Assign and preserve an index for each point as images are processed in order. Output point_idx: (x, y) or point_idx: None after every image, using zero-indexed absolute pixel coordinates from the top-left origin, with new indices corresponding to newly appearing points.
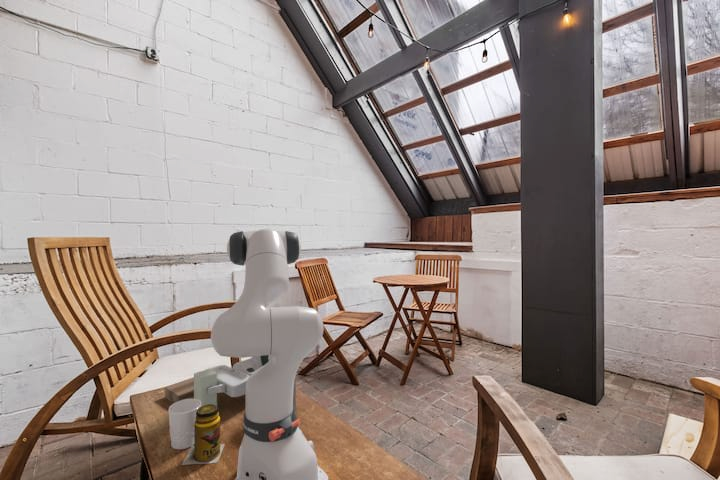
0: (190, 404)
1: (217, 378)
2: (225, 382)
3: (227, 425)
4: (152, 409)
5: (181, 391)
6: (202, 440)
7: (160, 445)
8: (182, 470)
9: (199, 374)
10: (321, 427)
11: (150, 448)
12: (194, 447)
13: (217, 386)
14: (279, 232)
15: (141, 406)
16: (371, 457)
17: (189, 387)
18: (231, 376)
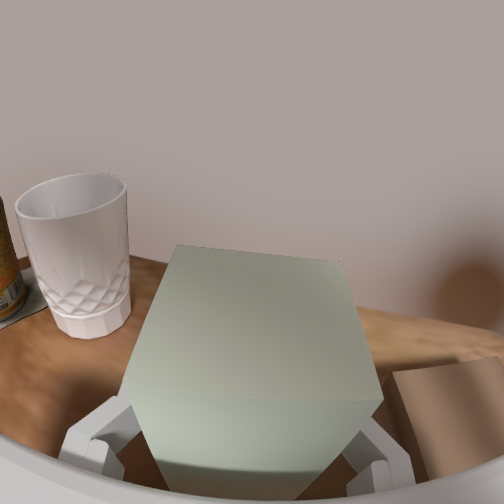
0: (87, 233)
1: (234, 501)
2: (39, 456)
3: (20, 424)
4: (401, 340)
5: (433, 392)
6: None
7: (147, 279)
8: (27, 260)
9: (273, 269)
10: None
11: (160, 266)
12: (46, 303)
13: (93, 412)
14: None
15: (436, 326)
16: None
17: (461, 432)
18: None
